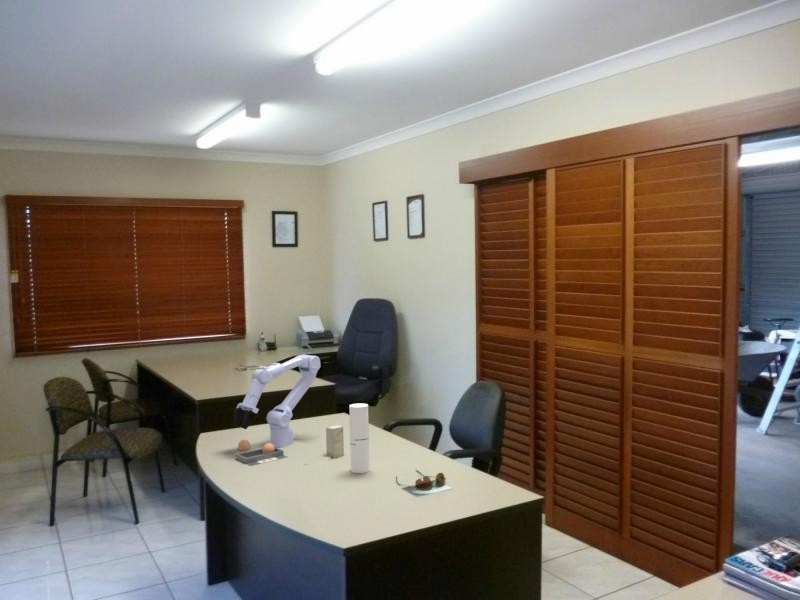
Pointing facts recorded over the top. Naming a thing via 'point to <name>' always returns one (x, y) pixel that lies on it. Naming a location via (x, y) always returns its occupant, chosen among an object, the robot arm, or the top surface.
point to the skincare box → (335, 441)
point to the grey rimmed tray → (259, 456)
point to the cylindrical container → (359, 438)
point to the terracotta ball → (244, 445)
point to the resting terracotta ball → (268, 448)
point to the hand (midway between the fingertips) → (239, 427)
